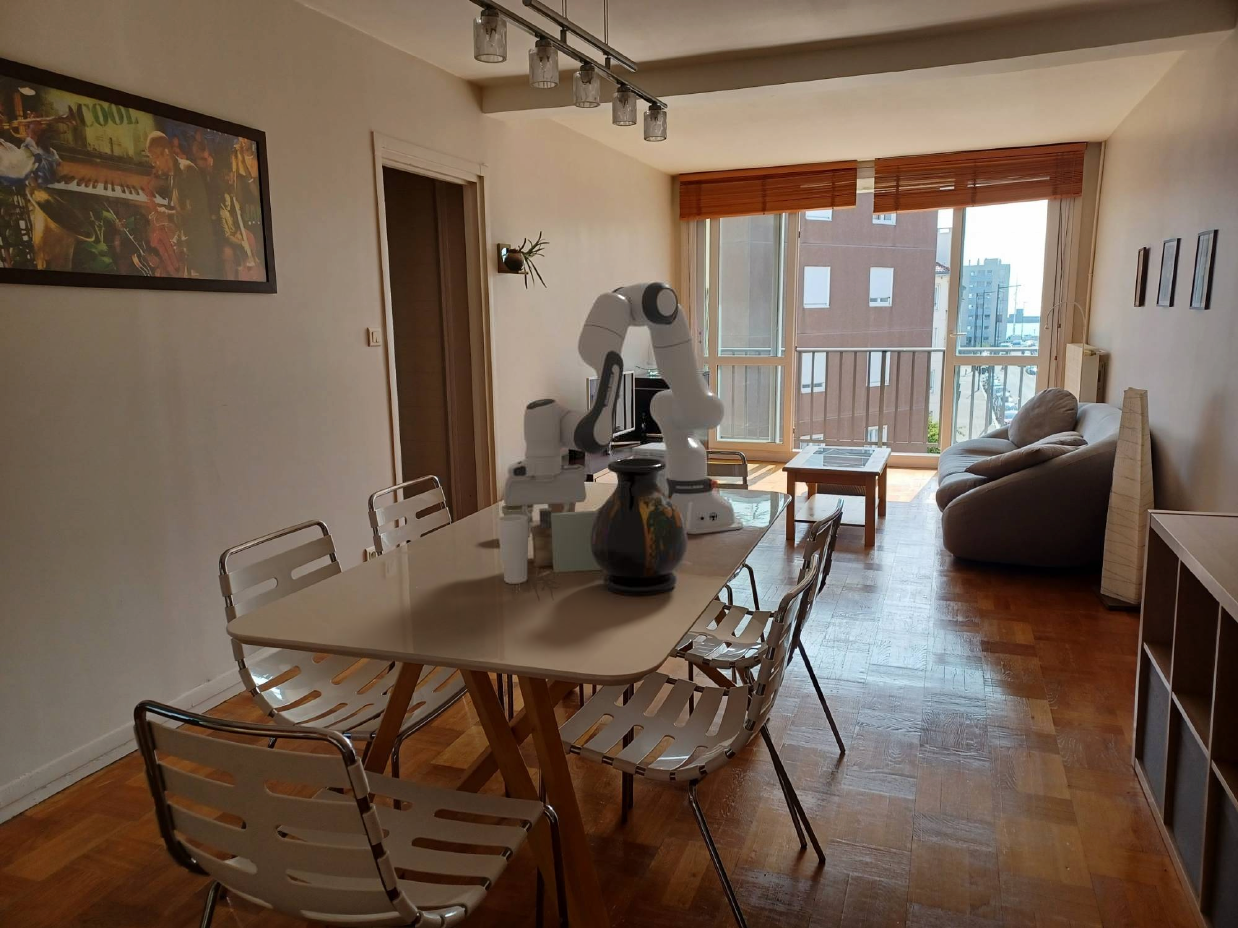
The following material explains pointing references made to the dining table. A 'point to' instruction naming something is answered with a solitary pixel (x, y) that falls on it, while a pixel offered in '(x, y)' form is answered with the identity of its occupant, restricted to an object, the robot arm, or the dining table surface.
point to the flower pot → (517, 512)
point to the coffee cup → (561, 507)
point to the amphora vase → (638, 531)
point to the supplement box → (657, 453)
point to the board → (573, 541)
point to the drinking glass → (514, 547)
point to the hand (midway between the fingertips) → (546, 521)
